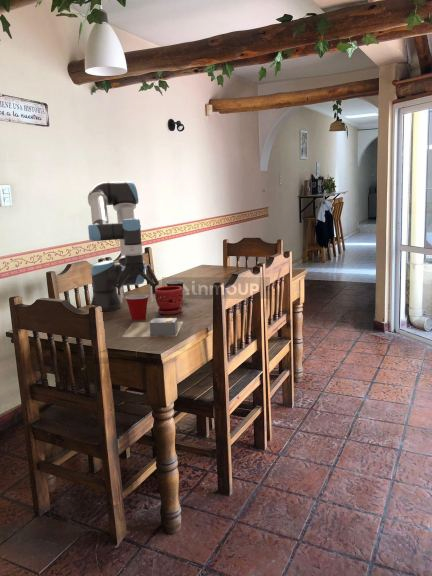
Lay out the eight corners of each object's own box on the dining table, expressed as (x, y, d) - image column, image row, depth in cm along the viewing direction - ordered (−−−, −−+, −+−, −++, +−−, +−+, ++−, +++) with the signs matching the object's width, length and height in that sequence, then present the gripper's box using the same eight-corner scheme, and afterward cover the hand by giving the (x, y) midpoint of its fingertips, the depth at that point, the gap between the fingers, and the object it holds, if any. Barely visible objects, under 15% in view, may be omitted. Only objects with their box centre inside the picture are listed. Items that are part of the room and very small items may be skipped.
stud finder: (150, 336, 189) (149, 321, 188) (153, 331, 195) (152, 317, 194) (175, 335, 189) (174, 321, 187) (177, 331, 195) (176, 317, 193)
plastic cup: (152, 317, 221) (150, 292, 219) (149, 324, 211) (147, 297, 208) (128, 318, 221) (126, 293, 219) (125, 325, 211) (122, 298, 208)
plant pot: (188, 310, 231) (187, 286, 228) (173, 317, 220) (171, 291, 217) (167, 307, 238) (165, 284, 235) (150, 314, 227) (148, 289, 224)
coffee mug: (181, 302, 246) (180, 283, 244) (165, 302, 248) (164, 283, 245) (187, 297, 257) (186, 279, 255) (172, 297, 259) (171, 279, 256)
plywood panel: (121, 340, 190) (121, 337, 189) (133, 325, 209) (132, 322, 209) (176, 339, 188) (176, 336, 188) (183, 324, 208) (183, 321, 208)
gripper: (103, 256, 206) (107, 304, 211) (160, 254, 205) (163, 302, 209) (108, 254, 214) (112, 300, 218) (163, 252, 212) (166, 298, 216)
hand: (137, 301), depth 214 cm, fingers open, 13 cm apart
